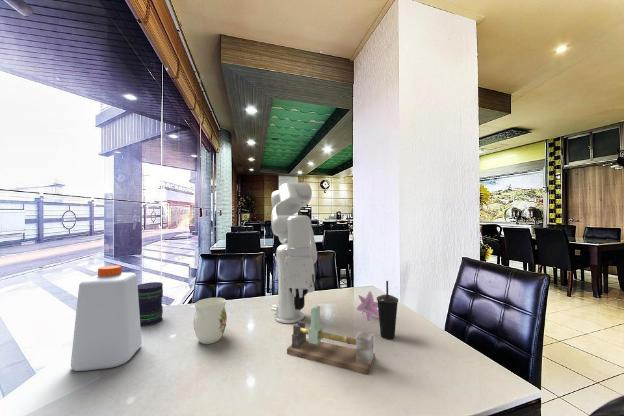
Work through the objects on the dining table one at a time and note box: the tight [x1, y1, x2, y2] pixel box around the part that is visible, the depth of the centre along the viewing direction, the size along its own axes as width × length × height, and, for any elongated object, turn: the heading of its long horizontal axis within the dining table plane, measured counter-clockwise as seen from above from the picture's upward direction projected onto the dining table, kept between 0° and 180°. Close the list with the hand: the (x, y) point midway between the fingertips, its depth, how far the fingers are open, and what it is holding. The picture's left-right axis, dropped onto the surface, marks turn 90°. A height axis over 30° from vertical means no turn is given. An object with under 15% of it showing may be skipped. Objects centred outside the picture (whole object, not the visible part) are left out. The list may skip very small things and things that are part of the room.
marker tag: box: [307, 305, 324, 344], centre depth 85 cm, size 3×4×10 cm
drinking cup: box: [376, 280, 399, 341], centre depth 96 cm, size 8×8×20 cm
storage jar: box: [137, 281, 164, 327], centre depth 110 cm, size 10×10×15 cm
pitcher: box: [193, 297, 228, 345], centre depth 95 cm, size 11×18×14 cm, turn 4°
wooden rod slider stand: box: [286, 320, 376, 375], centre depth 83 cm, size 26×9×8 cm, turn 65°
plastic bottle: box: [70, 265, 142, 372], centre depth 82 cm, size 15×15×28 cm
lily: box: [356, 290, 379, 322], centre depth 114 cm, size 12×12×10 cm
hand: (299, 308), depth 87 cm, fingers closed
